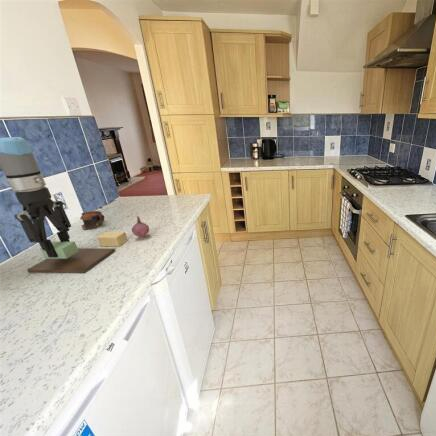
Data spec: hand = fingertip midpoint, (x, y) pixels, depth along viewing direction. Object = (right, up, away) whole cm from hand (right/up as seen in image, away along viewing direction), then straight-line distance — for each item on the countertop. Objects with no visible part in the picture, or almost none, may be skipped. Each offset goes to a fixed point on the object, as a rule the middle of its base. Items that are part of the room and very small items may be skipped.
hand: (61, 252), depth 86 cm
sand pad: (+9, +2, +13) cm, 16 cm away
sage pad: (0, -1, 0) cm, 1 cm away
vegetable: (+19, +4, +17) cm, 26 cm away
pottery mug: (-12, +8, +30) cm, 33 cm away
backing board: (+4, -3, +1) cm, 5 cm away
